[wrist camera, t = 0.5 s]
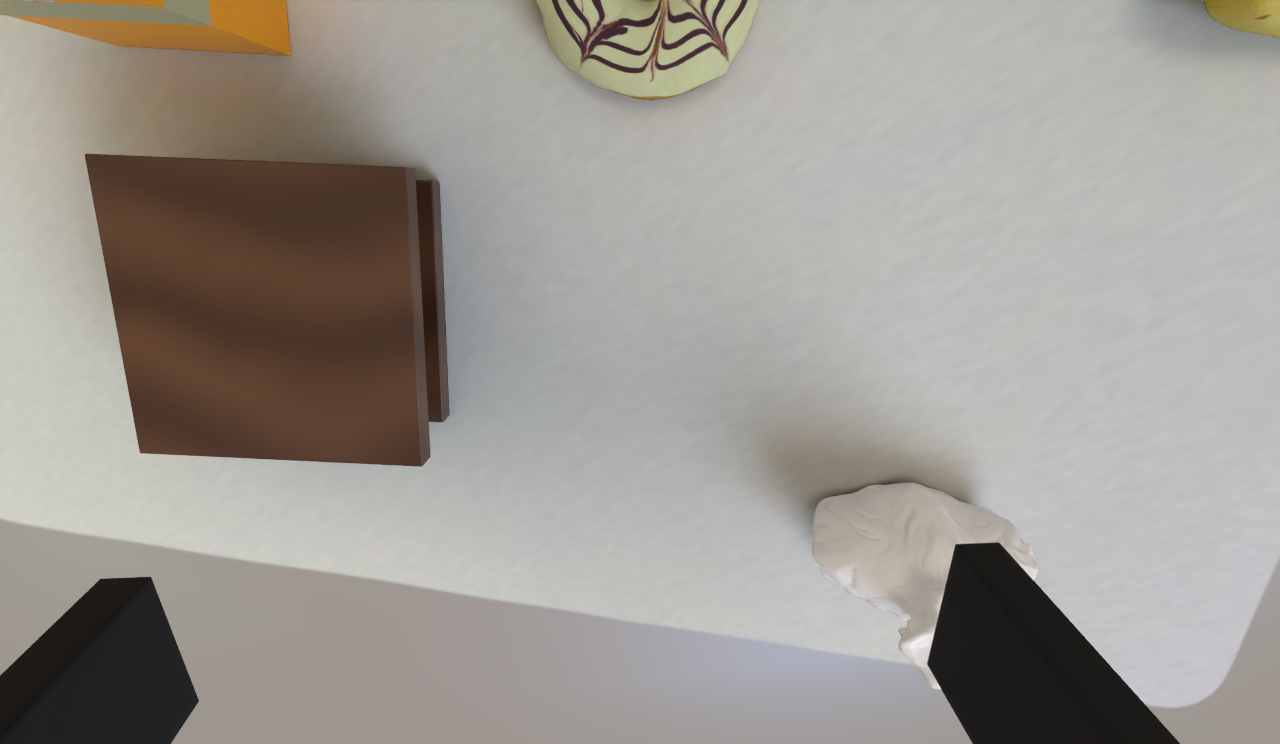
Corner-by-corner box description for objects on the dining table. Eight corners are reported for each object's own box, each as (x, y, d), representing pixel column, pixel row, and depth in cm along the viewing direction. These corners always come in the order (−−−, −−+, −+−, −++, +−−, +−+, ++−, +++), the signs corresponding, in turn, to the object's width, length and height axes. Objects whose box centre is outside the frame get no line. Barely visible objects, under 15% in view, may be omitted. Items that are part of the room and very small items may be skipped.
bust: (787, 506, 40) (804, 704, 34) (818, 445, 34) (847, 673, 28) (977, 519, 40) (1032, 720, 34) (1042, 461, 34) (1125, 693, 27)
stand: (182, 160, 33) (83, 153, 28) (449, 171, 33) (405, 166, 27) (219, 413, 37) (139, 453, 31) (458, 424, 37) (422, 466, 31)
